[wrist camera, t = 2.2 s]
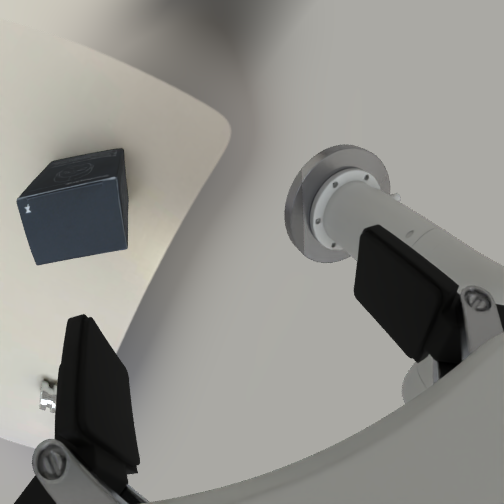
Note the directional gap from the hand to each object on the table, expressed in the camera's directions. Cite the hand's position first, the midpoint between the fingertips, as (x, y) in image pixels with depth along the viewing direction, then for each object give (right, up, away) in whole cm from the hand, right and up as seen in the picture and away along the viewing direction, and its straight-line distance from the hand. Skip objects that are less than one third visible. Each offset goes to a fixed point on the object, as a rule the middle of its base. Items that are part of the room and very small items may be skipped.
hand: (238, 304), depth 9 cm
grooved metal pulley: (-33, -20, +27) cm, 47 cm away
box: (-16, +9, +16) cm, 24 cm away
